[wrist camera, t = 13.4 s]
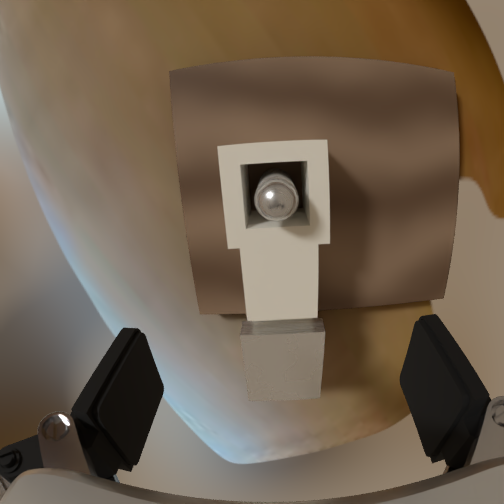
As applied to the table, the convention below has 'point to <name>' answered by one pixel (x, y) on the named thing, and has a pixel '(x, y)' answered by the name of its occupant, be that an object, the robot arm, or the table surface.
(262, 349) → the block
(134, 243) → the table surface
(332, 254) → the board
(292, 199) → the cylinder
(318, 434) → the table surface
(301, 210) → the link
